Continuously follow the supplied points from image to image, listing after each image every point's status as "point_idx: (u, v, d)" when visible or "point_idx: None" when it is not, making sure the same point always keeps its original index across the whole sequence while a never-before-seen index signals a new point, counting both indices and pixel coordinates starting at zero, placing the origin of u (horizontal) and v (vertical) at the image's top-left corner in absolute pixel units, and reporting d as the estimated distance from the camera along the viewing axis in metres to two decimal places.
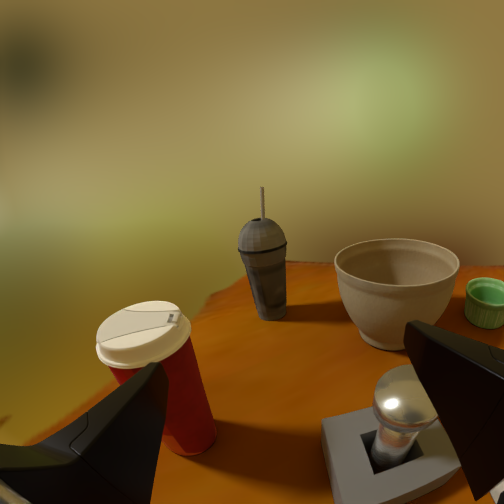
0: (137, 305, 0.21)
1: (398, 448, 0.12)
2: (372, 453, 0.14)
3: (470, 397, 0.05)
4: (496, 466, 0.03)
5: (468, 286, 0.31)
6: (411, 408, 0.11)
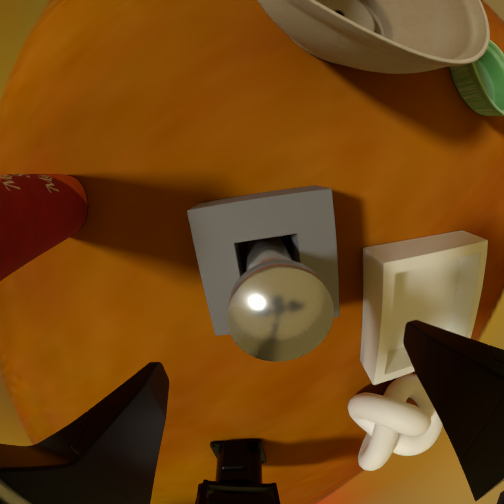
0: None
1: None
2: None
3: (470, 397, 0.05)
4: (496, 466, 0.03)
5: None
6: (269, 345, 0.12)
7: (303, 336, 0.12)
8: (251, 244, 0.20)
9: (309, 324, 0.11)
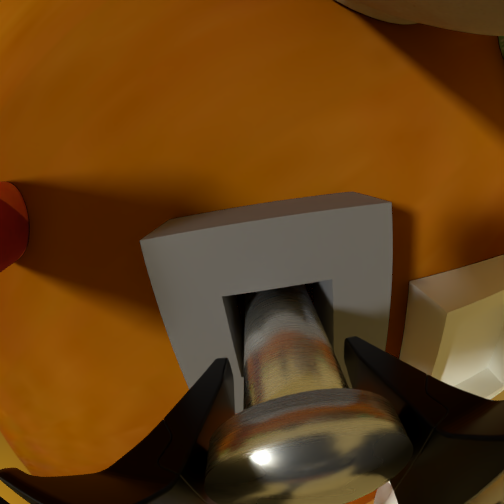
0: None
1: None
2: None
3: None
4: None
5: None
6: None
7: (346, 493, 0.04)
8: None
9: (361, 483, 0.04)
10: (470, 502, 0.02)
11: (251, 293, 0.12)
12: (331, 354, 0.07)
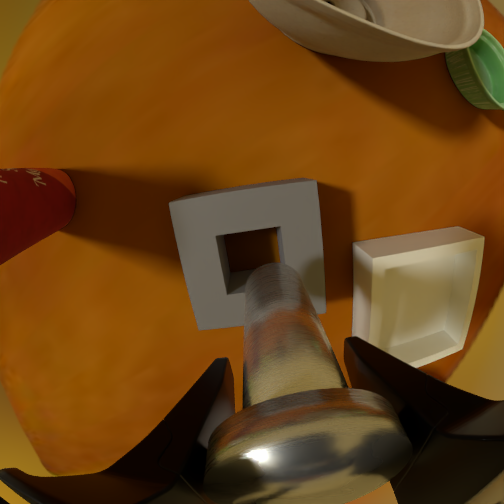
0: None
1: None
2: None
3: None
4: None
5: None
6: None
7: (345, 493, 0.04)
8: (252, 287, 0.12)
9: (360, 483, 0.04)
10: (470, 502, 0.02)
11: (251, 293, 0.12)
12: (330, 354, 0.07)
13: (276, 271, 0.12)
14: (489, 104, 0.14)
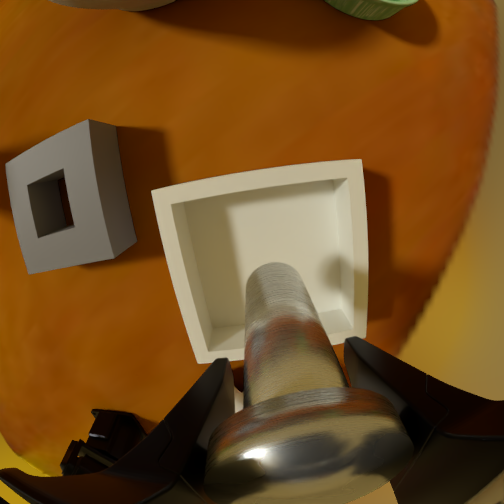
0: None
1: None
2: None
3: None
4: None
5: None
6: None
7: (347, 493, 0.04)
8: (252, 286, 0.12)
9: (361, 483, 0.04)
10: (470, 502, 0.02)
11: (251, 292, 0.12)
12: (331, 353, 0.07)
13: (277, 270, 0.12)
14: (364, 3, 0.12)
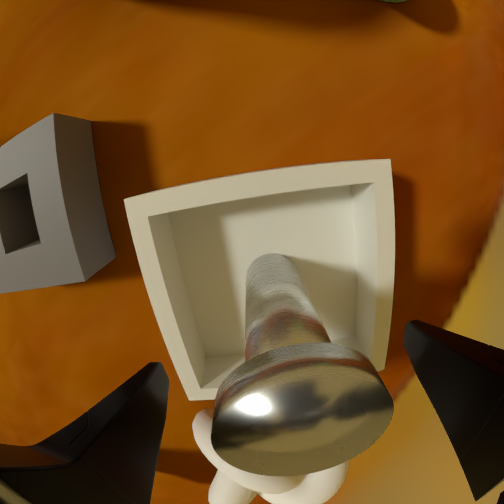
0: None
1: None
2: None
3: (470, 397, 0.05)
4: (496, 466, 0.03)
5: None
6: (282, 464, 0.06)
7: (337, 451, 0.06)
8: (252, 274, 0.13)
9: (350, 439, 0.06)
10: None
11: (251, 279, 0.13)
12: (321, 326, 0.09)
13: (274, 260, 0.14)
14: None
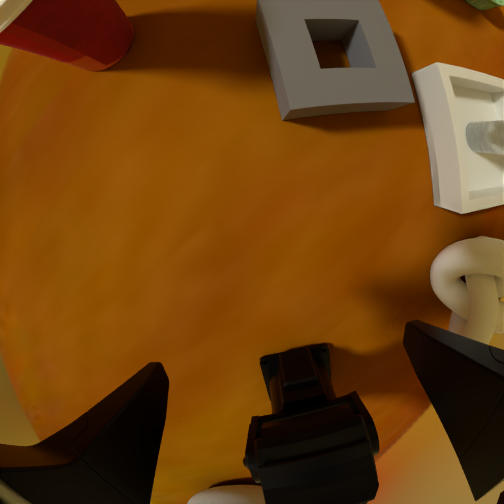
0: None
1: None
2: (492, 136, 0.14)
3: (470, 398, 0.05)
4: (496, 466, 0.03)
5: None
6: None
7: None
8: (478, 124, 0.15)
9: None
10: None
11: (481, 125, 0.15)
12: None
13: (481, 121, 0.15)
14: (482, 0, 0.10)
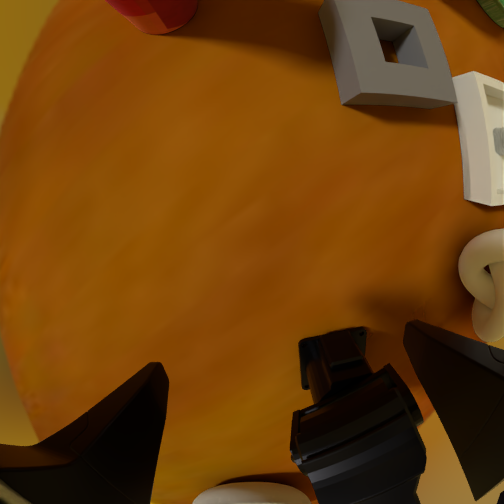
0: None
1: None
2: None
3: (470, 397, 0.05)
4: (496, 466, 0.03)
5: None
6: None
7: None
8: (503, 129, 0.15)
9: None
10: None
11: None
12: None
13: None
14: None
